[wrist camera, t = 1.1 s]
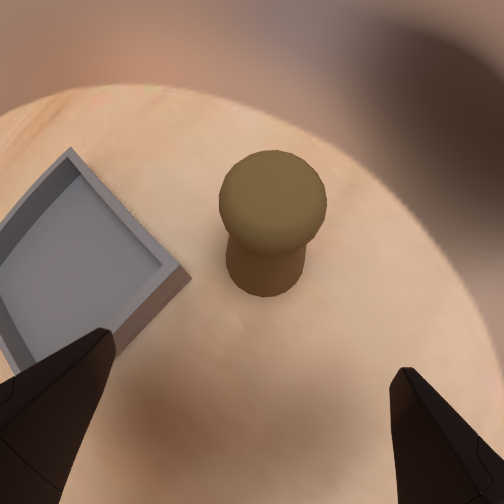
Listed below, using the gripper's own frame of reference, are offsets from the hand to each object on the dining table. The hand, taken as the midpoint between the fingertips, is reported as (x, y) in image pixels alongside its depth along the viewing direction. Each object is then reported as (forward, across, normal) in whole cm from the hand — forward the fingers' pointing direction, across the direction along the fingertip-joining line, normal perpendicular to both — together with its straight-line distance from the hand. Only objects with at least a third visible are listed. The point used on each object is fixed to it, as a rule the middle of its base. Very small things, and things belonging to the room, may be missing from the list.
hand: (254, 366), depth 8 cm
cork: (+15, 0, +4) cm, 16 cm away
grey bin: (+12, +16, +7) cm, 21 cm away
